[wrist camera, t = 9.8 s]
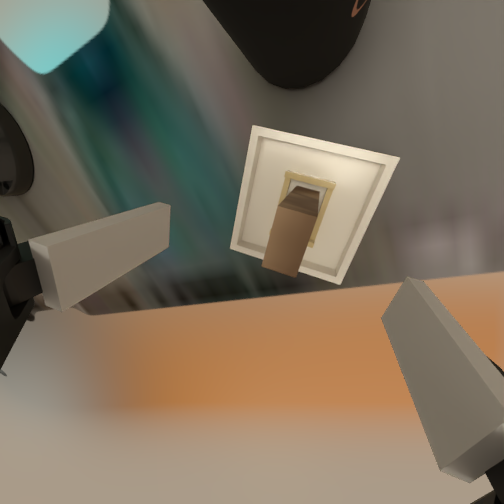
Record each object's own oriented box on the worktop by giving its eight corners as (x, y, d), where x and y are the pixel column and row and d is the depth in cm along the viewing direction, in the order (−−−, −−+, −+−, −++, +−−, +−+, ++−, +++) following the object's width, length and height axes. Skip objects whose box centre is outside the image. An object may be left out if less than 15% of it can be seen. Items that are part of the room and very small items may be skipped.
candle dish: (236, 242, 30) (229, 248, 28) (259, 127, 24) (252, 124, 22) (338, 275, 28) (340, 285, 26) (392, 157, 22) (400, 157, 20)
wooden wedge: (285, 223, 27) (261, 266, 16) (296, 185, 25) (277, 205, 14) (306, 229, 26) (295, 277, 16) (319, 191, 24) (317, 217, 14)
